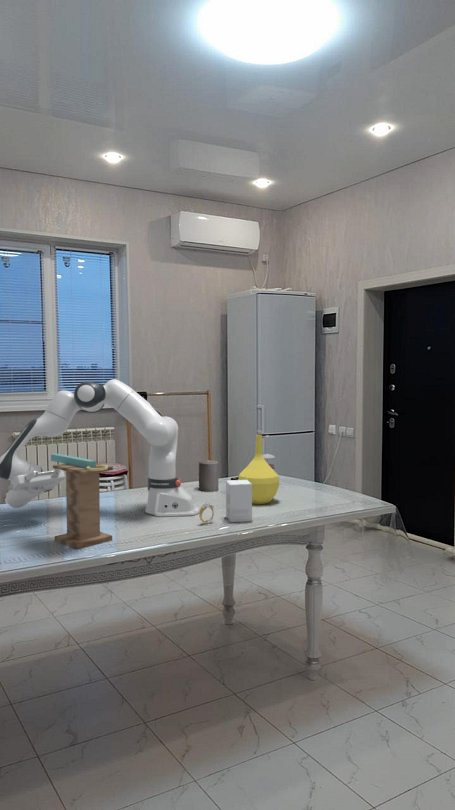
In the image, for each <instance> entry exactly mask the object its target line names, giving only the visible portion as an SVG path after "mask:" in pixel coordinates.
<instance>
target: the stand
mask: <svg viewBox="0 0 455 810" xmlns="http://www.w3.org/2000/svg"><path fill="white" fill-rule="evenodd" d="M96 465H100V464H99V463H98V464H97V463H96ZM107 466H108V469H107V470H102V471H89V470H87V468H84V467H79V466H74V465H69V464H64V463H60V464H54V465H52V469H54V470H55V469H59V470H63V471H65V491H66V493H65V495H66V500H65V501H66V533H63V534H59V535H54V542H57V543H59V544H62V543H63V544H62V545H64V546H67V545H68V547H70V548H73V549H76V550H81V549H84V548H88V547H91V546H92V547H93V546H95V545H99V544H103V542H104V543H107V542H110V541H111V542H112V541H113V535H111V534H108V533H105V532H102V531H101V523H100V522H101V510H100V509H101V508H100V507H101V506H100V502H101V501H100V473H102V472H109V471H113V470H114V466H110V465H107Z"/></svg>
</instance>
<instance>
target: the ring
mask: <svg viewBox="0 0 455 810" xmlns="http://www.w3.org/2000/svg"><path fill="white" fill-rule="evenodd" d="M207 508H209V509H210V510H211V513H212V515H211V518H210V519H208V520H205V519H203V516H202V515H203V513H204V511H206V509H207ZM199 509H200V510H199V513H198V518H199V520H200V521H201V522H202V523H204V524H207V523H208V524H210V523H211V522H212V521H214V519H215V516H216V509H215V507H214V505H212V504H211V502H208V503H207V502H204V503H203V504H202V505H201V506H200V507H199Z"/></svg>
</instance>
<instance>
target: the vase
mask: <svg viewBox="0 0 455 810" xmlns="http://www.w3.org/2000/svg"><path fill="white" fill-rule="evenodd" d="M263 455H264V454H263V434H256V435H255V454H254V457H253V459H252V460H251V461H250V463H249V464H248V465H247V466H246V467H245V468H244V469H243V470H241V472H240V473H239V474H238V479H237V480H248V481H249V482H250V483H251V484H252V505H265V504H268V503H270V502H271V501H272V500H273V499H274V498H275V496H276V495H277V493H278V489H279V487H280V479H279V478H280V477H279V474H278V473H277V472H276V470H275V471H274V470H273V469H272V468H271V467H270V466H269V464H270V463H267V460H266V459H264V458H263Z"/></svg>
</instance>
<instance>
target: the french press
mask: <svg viewBox="0 0 455 810" xmlns="http://www.w3.org/2000/svg"><path fill="white" fill-rule="evenodd" d="M265 438H266V440H267V441H266V442H267V443H266V445H267V447H266V449H267V450H266V451H267V453H266V454H262V455H263V458H264V460H266V462H267V463H268V460H274V459H276V457H275V455H273V454H270V453H268V452H269V451H268V450H269V446H268V445H269V439H268V438H270V435H268V434H267V435H265ZM268 464H269V466H270V467H271V468H272V469H273V470H274V471H275V472H276V470H275V469H276V468H275V467H274V466H275V464H273V463H268Z"/></svg>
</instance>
